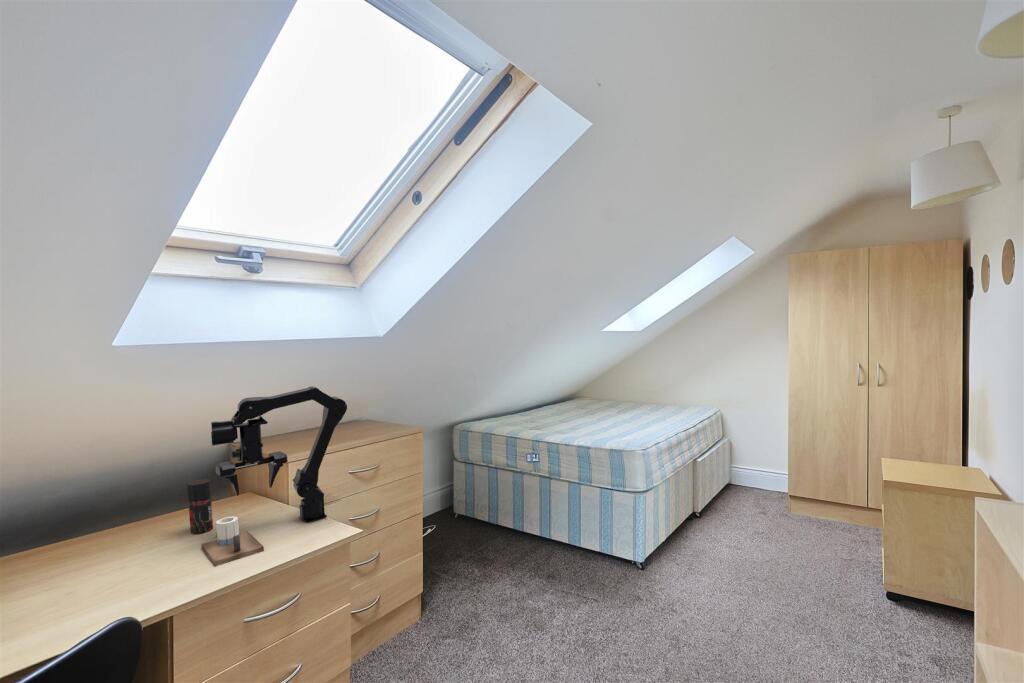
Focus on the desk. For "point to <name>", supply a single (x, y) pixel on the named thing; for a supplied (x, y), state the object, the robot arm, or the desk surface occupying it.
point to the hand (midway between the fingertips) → (254, 491)
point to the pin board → (232, 548)
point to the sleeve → (227, 530)
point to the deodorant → (200, 506)
